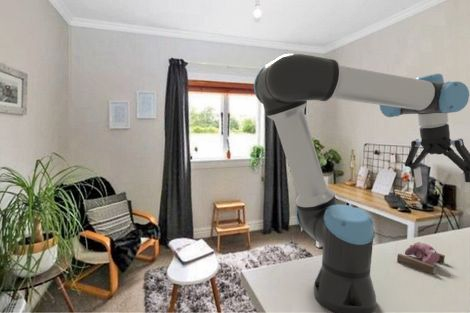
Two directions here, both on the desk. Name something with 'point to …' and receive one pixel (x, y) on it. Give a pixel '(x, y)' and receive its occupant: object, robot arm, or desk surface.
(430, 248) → the video game controller
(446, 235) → the desk surface
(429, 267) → the dock
